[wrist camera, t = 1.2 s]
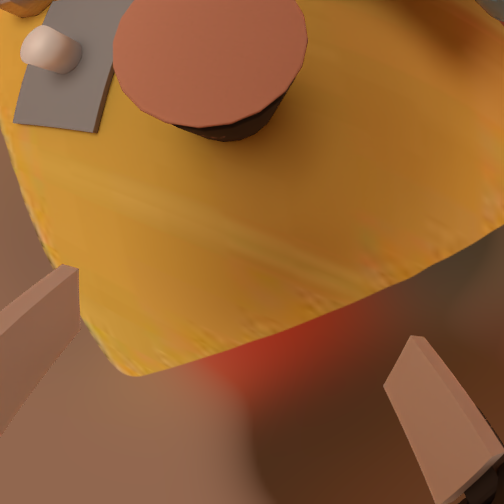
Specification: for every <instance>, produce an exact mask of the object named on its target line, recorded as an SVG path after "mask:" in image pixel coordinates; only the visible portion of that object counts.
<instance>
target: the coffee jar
mask: <svg viewBox="0 0 504 504" xmlns="http://www.w3.org/2000/svg"><path fill="white" fill-rule="evenodd" d="M307 43H308V38H307V31H306V25H305V19H304V15H303V13H302V11H301V10H300V8H299V6H298V5H297V3H296V1H295V0H134V1H133V2H132V4H131V5H130V6H129V8H128V9H127V11H126V12H125V13H124V15H123V16H122V18H121V20H120V23H119V26H118V28H117V31H116V34H115V37H114V40H113V68H114V71H115V73H116V76H117V78H118V81H119V83H120V86H121V88H122V91H123V92H124V93H125V94H126V95H127V96H128V97H129V98H130V99H131V100H132V101H133V103H134V104H135V105H136V106H137V107H138V108H139V109H140V110H141V111H143V112H145V113H147V114H149V115H151V116H153V117H155V118H157V119H159V120H161V121H163V122H165V123H169V124H172V125H174V126H176V127H178V128H181V129H183V130H186V131H189V132H191V133H194V134H197V135H199V136H202V137H205V138H207V139H212V140H217V141H222V142H226V141H235V140H241V139H244V138H246V137H248V136H251V135H253V134H255V133H257V132H258V131H259V130H260V129H261V128H262V127H264V126H265V125H266V124H267V123H268V122H269V120H270V118H271V117H272V115H273V114H274V112H275V110H276V109H277V107H278V106H279V104H280V102H281V101H282V99H283V97H284V96H285V94H286V92H287V91H288V89H289V87H290V86H291V84H292V83H293V81H294V79H295V77H296V75H297V74H298V72H299V71H300V69H301V68H302V65H303V60H304V56H305V52H306V47H307Z"/></svg>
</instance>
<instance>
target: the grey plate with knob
mask: <svg viewBox="0 0 504 504" xmlns="http://www.w3.org/2000/svg"><path fill="white" fill-rule="evenodd" d="M133 1H134V0H58V1H52V4H51V6H50V8H49V10H48V12H47V15H46V17H45V19H44V22H43V24H42V26H38V27H36V28H35V29H34V30H32V31H31V32H30V33H29V34H28V36H27V37H26V38H25V40H24V42H23V44H22V47H21V52H20V55H21V59H22V61H23V62H24V63H27V64H28V65H27V69H26V72H25V75H24V79H23V82H22V86H21V89H20V93H19V97H18V101H17V106H16V110H15V114H14V119H13V123H19V124H30V125H39V126H48V127H56V128H64V129H72V130H79V131H86V132H92V133H98V129H99V124H100V120H101V116H102V112H103V109H104V105H105V101H106V97H107V94H108V90H109V87H110V84H111V80H112V77H113V74H114V68H113V40H114V37H115V34H116V31H117V28H118V26H119V23H120V20H121V18H122V16H123V15H124V13H125V12H126V11H127V9H128V8H129V6H130V5H131V4H132V2H133Z"/></svg>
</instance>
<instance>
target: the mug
mask: <svg viewBox="0 0 504 504" xmlns="http://www.w3.org/2000/svg"><path fill="white" fill-rule="evenodd" d="M52 1H54V0H0V9H3V10H5V11H7V12H9V13H12V14H14V15H16V16H18V17H21V18H24V17H29V16H35V15H38V14H39V13H41V12H42V11H43V10H44V9H45V8H46V7H47V6H48V5H50V4H51V3H52Z"/></svg>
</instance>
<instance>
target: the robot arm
mask: <svg viewBox="0 0 504 504" xmlns="http://www.w3.org/2000/svg"><path fill="white" fill-rule="evenodd" d="M475 1H476V2H477V3H478V4H479V5H480V6H481V7H482V8H483V9H484V10H485V11H486V12H487V13H488V14H489V15H490V16H492V17H493V18H495V19H497V20H500V21H503V22H504V0H475ZM80 330H81V326H80V308H79V269H78V268H74V267H71V266H67V265H64V264H62V265H61V266H59V267H58V268H56V269H55V270H54V271H52V272H51V273H49V274H48V275H47V276H45V277H44V278H43V279H41V280H40V281H39V282H37V283H36V284H35V285H33V286H32V287H31V288H30V289H28V290H27V291H26V292H24V293H23V294H21V295H20V296H19V297H18V298H16V299H15V300H14V301H12V302H11V303H10V304H9V305H7V306H6V307H5V308H4V309H3V310H1V311H0V437H1V435H2V434H3V433H4V431H5V430H6V428H7V427H8V425H9V424H10V422H11V421H12V419H13V418H14V416H15V415H16V414H17V412H18V411H19V409H20V408H21V406H22V405H23V404H24V402H25V401H26V400H27V398H28V397H29V395H30V394H31V393H32V391H33V390H34V388H35V387H36V386H37V384H38V383H39V382H40V380H41V379H42V378H43V377H44V375H45V374H46V373H47V371H48V370H49V368H50V367H51V366H52V364H53V363H54V362H55V361H56V360H57V358H58V357H59V356H60V354H61V353H62V352H63V351H64V350H65V348H66V347H67V346H68V345H69V343H70V342H71V341H72V340H73V338H74V337H75V336H76V335H77V333H78V332H79V331H80ZM383 387H384V389H385V391H386V393H387V395H388V397H389V399H390V401H391V403H392V406H393V408H394V409H395V412H396V414H397V416H398V418H399V421H400V423H401V425H402V427H403V429H404V431H405V434H406V436H407V438H408V440H409V443H410V445H411V447H412V449H413V452H414V454H415V456H416V458H417V461H418V463H419V465H420V467H421V470H422V472H423V475H424V477H425V479H426V482H427V484H428V487H429V489H430V492H431V494H432V497H433V499H434V502H435V504H448V503H451V502H453V501H454V500H455V499H457V498H458V497H459V496H460V495H461V494H462V493H465V495H466V498H465V499H463V500H462V501H461V502H460V503H458V504H504V445H503V443H502V442H501V440H500V439H499V437H498V436H497V434H496V433H495V431H494V430H493V428H492V427H490V426H491V425H490V423H489V422H488V421H487V420H485V419H486V418H485V416H484V415H483V413H482V412H481V411H480V409H479V408H478V407H477V406H476V405H475V404H474V403H473V402H472V400H471V399H470V397H469V396H468V395H467V393H466V392H465V390H464V389H463V388H462V386H461V385H460V383H459V382H458V381H457V379H456V378H455V377H454V375H453V374H452V373H451V371H450V370H449V369H448V367H447V366H446V365H445V363H444V362H443V361H442V359H441V358H440V357H439V356H438V354H437V353H436V352H435V350H434V349H433V348H432V347H431V345H430V344H429V343H428V341H427V340H426V339H425V338H424V337H420V336H412V335H411V336H410V337H409V339H408V341H407V343H406V345H405V347H404V349H403V351H402V353H401V355H400V356H399V358H398V360H397V362H396V364H395V366H394V368H393V370H392V371H391V373H390V375H389V376H388V378H387V380H386V382H385V383H384V385H383Z"/></svg>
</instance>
